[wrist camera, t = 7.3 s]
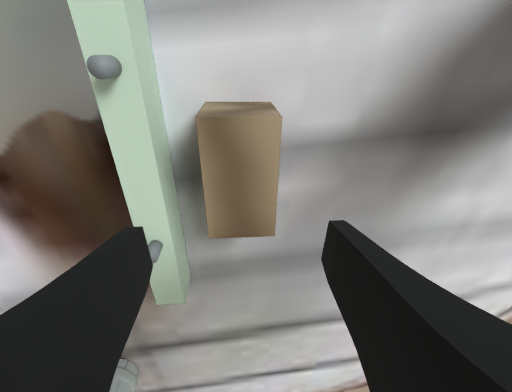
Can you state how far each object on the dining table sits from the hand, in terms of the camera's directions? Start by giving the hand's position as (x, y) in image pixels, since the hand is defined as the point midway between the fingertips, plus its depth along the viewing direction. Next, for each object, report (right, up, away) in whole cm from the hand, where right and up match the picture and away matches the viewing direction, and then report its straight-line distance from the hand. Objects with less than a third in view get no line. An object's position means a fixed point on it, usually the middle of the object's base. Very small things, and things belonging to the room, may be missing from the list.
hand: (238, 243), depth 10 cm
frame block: (-1, +5, +9) cm, 11 cm away
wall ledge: (-7, +5, +9) cm, 12 cm away
